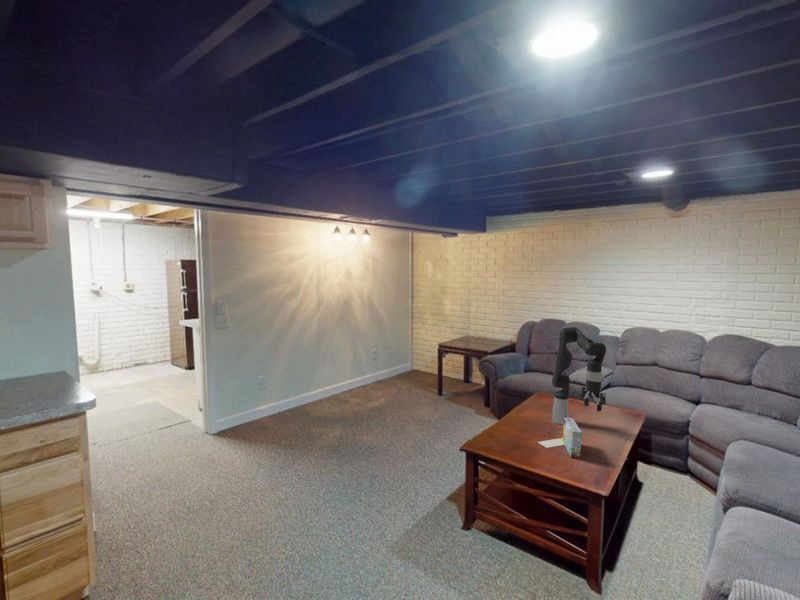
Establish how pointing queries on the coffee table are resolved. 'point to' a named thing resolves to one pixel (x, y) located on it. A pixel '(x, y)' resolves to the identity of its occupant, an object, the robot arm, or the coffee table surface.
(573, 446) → the snack box
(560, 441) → the mat
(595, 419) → the coffee table surface
